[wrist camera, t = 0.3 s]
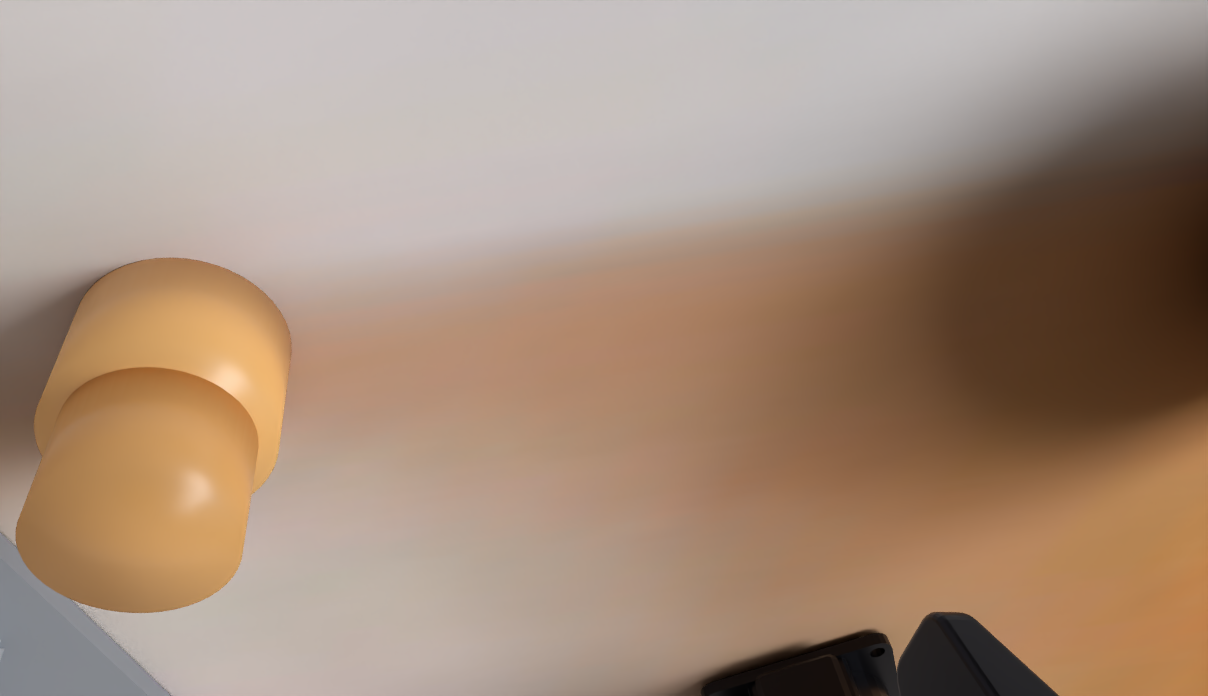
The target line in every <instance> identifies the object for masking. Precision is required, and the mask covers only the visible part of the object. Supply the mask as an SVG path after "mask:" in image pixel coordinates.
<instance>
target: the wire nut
mask: <svg viewBox="0 0 1208 696" xmlns="http://www.w3.org/2000/svg"><path fill="white" fill-rule="evenodd" d="M290 360H291V338H290V333H289V330H288V327H287V324H286V321H285V320H284V318H283V316H282V314H281V312H280V311H279V309H278V308H277V307H276V305H275V304H274V302H273V301H272V300H271V299H270V298H269V297H268V296H267V295H266V294H265V293H264V292H263V291H262V290H260V289H259V288H258V287H257V286H255V285H254V284H253V283H251V282H250V281H248V280H247V279H245V278H243V277H242V276H240V275H238V274H236V273H234V272H232V271H230V270H227V269H225V268H222V267H220V266H217V265H214V264H210V263H206V262H203V261H197V260H191V259H184V258H155V259H149V260H142V261H138V262H134V263H131V264H127V265H125V266H123V267H120V268H118V269H115V270H114V271H112V272H110V273H108V274H107V275H105V276H103V277H102V278H101V279H100V280H98V281H97V282H96V283H95V284H94V285H93V286H92V287H91V288H90V289H89V290H88V291H87V292H86V294H85V295H84V297H83V299H82V300H81V302H80V304H79V307H78V309H77V311H76V314H75V316H74V319H73V321H72V324H71V326H70V328H69V331H68V333H67V336H66V338H65V341H64V343H63V345H62V348H61V350H60V353H59V355H58V358H57V360H56V362H55V365H54V367H53V370H52V372H51V375H50V377H49V379H48V382H47V384H46V387H45V389H44V392H43V394H42V396H41V399H40V401H39V404H38V406H37V409H36V413H35V418H34V433H35V438H36V443H37V446H38V448H39V451H40V453H41V455H42V459H41V462H40V465H39V467H38V470H37V473H36V475H35V478H34V480H33V483H32V486H31V488H30V491H29V493H28V496H27V499H26V501H25V504H24V506H23V509H22V512H21V514H20V517H19V519H18V522H17V527H16V544H17V548H18V552H19V554H20V556H21V558H22V560H23V562H24V563H25V565H26V566H27V568H28V569H29V570H30V571H31V572H32V573H33V574H34V575H35V577H36V578H38V579H39V580H40V581H41V582H42V583H44V584H45V585H46V586H48V587H49V588H51V589H52V590H54V591H55V592H57V593H59V594H61V595H63V596H65V597H67V598H69V599H72V600H74V601H77V602H79V603H82V604H85V605H88V606H92V607H96V608H100V609H105V610H110V611H117V612H129V613H151V612H162V611H168V610H174V609H178V608H182V607H185V606H189V605H191V604H194V603H197V602H199V601H201V600H204V599H206V598H208V597H210V596H211V595H213V594H214V593H216V592H217V591H219V590H220V589H221V588H222V587H224V586H225V585H226V584H227V583H228V582H229V581H230V579H231V578H232V577H233V576H234V574H235V573H236V571H237V569H238V567H239V565H240V562H241V559H242V553H243V546H244V540H245V533H246V527H247V520H248V514H249V507H250V501H251V495H252V494H253V493H254V492H255V491H256V490H257V489H259V488H260V487H261V486H262V484H263V483H264V482H265V481H266V480H267V478H268V477H269V475H270V474H271V472H272V470H273V468H274V466H275V463H276V460H277V456H278V451H279V444H280V436H281V429H282V421H283V413H284V406H285V398H286V391H287V383H288V375H289V368H290Z"/></svg>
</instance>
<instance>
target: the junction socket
mask: <svg viewBox="0 0 1208 696" xmlns="http://www.w3.org/2000/svg"><path fill="white" fill-rule="evenodd" d="M0 696H171V695H170V694H169V693H168V692H167V691H166V690H164V689H163V688H162V687H161V686H160V685H159V684H158V683H157V682H156V681H155V680H154V679H153V678H152V677H151V676H150V675H149V674H148V673H147V672H146V671H145V670H144V669H143V668H141V667H140V666H139V665H138V664H137V663H136V662H135V661H134V660H133V659H132V658H131V657H130V656H129V655H128V654H127V653H126V652H125V651H124V650H123V649H122V648H121V647H120V646H119V645H117V644H116V643H115V642H114V641H113V640H112V639H111V638H110V637H109V636H108V635H107V634H106V633H105V632H104V631H103V630H102V629H101V628H100V627H99V626H98V625H97V624H96V623H94V622H93V621H92V620H91V619H90V618H89V617H88V616H87V615H86V614H85V613H84V612H83V611H82V610H81V609H80V608H79V607H78V606H77V605H76V604H75V603H74V602H73V601H71V600H70V599H69V598H67V597H65V596H63V595H61V594H59V593H57V592H55V591H54V590H52V589H51V588H49V587H48V586H46V585H45V584H44V583H42V582H41V581H40V580H39V579H38V578H36V577H35V575H34V574H33V573H32V572H31V571H30V570H29V569H28V568H27V566H26V565H25V563H24V562H23V560H22V558H21V556H20V554H19V552H18V549H17V548H16V547H15V546H14V545H13V544H12V543H11V542H10V541H9V540H8V539H7V538H6V537H5V536H4V535H3V534H1V533H0Z"/></svg>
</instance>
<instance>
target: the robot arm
mask: <svg viewBox="0 0 1208 696" xmlns="http://www.w3.org/2000/svg"><path fill="white" fill-rule="evenodd" d="M701 696H1059V695H1058V694H1057V693H1055V692H1054V691H1053V690H1052V689H1051V688H1050V687H1049V686H1048V685H1047V684H1046V683H1045V682H1043V681H1042V680H1041V679H1040V678H1039V677H1038V676H1037V675H1036V674H1035V673H1034V672H1032V671H1031V670H1030V669H1029V668H1028V667H1027V666H1026V665H1025V664H1024V663H1023V662H1022V661H1020V660H1019V659H1018V658H1017V657H1016V656H1015V655H1014V654H1013V653H1012V652H1011V651H1010V650H1008V649H1007V648H1006V647H1005V646H1004V645H1003V644H1002V643H1001V642H1000V641H999V640H997V639H996V638H995V637H994V636H993V635H992V634H991V633H990V632H989V631H988V630H987V629H985V628H984V627H983V626H982V625H981V624H980V623H979V622H978V621H977V620H975V619H974V618H973V617H971V616H970V615H968V614H965V613H959V612H933V613H930V614H929V615H927V616H926V617H925V618H924V619H923V620H922V622H921V624H920V625H919V627H918V629H917V630H916V632H915V634H914V635H913V637H912V639H911V640H910V642H909V644H908V645H907V647H906V649H905V650H904V652H903V654H902V655H901V657H900V659H899V663H898V667H897V671H896V666H895V661H894V655H893V650H892V647H891V644H890V642H889V640H888V638H887V636H886V635H885V634H882V633H875V634H870V635H867V636H864V637H860V638H857V639H854V640H850V641H847V642H844V643H841V644H837V645H834V646H831V647H827V648H824V649H821V650H817V651H814V652H811V653H807V654H804V655H801V656H798V657H794V658H791V659H788V660H784V661H781V662H778V663H774V664H771V665H768V666H764V667H761V668H758V669H754V670H751V671H748V672H745V673H741V674H738V675H735V676H731V677H728V678H725V679H721V680H718V681H715V682H712V683H709V684H707V685H706V686H704V687H703V688H702V690H701Z"/></svg>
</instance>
